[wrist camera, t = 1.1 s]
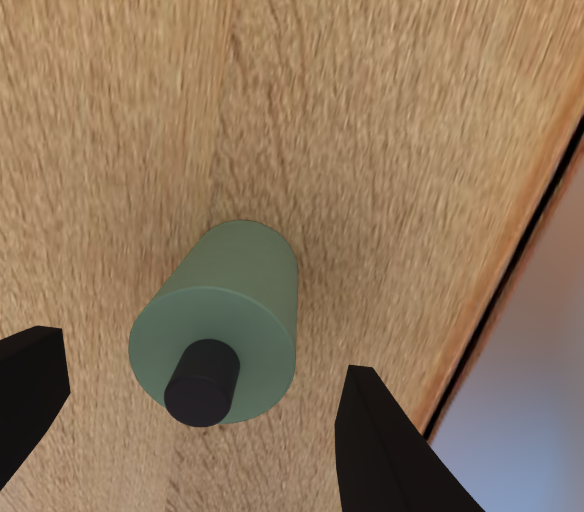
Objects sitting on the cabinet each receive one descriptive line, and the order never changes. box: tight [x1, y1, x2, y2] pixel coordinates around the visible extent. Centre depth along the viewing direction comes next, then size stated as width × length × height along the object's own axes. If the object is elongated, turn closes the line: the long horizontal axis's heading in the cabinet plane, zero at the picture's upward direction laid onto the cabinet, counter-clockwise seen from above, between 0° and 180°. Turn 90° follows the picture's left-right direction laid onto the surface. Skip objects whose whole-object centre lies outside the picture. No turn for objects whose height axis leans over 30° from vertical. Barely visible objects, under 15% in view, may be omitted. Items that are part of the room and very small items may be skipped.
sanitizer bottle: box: [128, 220, 298, 427], centre depth 12 cm, size 5×5×8 cm
